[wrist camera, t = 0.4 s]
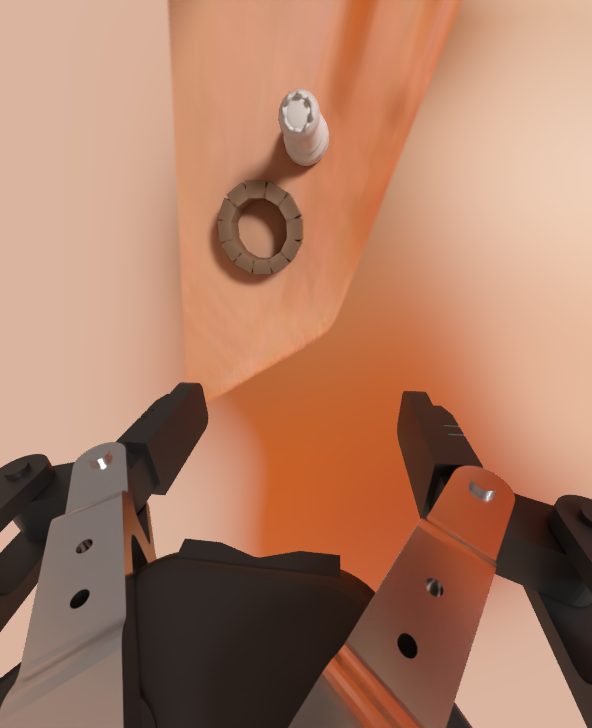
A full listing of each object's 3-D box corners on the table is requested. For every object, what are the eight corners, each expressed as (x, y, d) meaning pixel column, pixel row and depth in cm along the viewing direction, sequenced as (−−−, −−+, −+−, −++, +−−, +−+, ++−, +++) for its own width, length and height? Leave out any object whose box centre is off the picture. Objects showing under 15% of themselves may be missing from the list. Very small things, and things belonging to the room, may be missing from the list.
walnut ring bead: (220, 185, 31) (211, 182, 29) (302, 181, 30) (299, 178, 28) (231, 271, 35) (224, 274, 33) (303, 270, 34) (301, 273, 32)
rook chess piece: (297, 176, 30) (286, 161, 23) (276, 129, 28) (257, 97, 21) (336, 150, 28) (337, 125, 21) (316, 100, 27) (310, 55, 20)
